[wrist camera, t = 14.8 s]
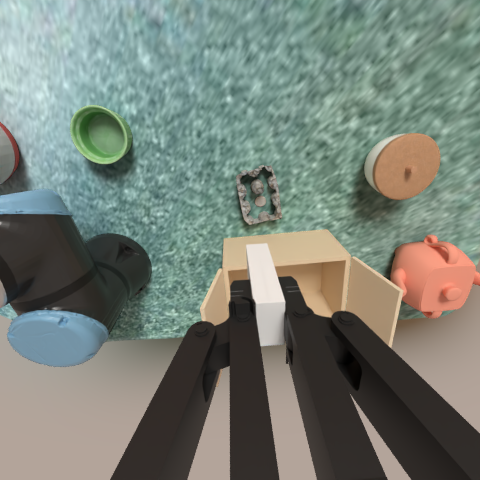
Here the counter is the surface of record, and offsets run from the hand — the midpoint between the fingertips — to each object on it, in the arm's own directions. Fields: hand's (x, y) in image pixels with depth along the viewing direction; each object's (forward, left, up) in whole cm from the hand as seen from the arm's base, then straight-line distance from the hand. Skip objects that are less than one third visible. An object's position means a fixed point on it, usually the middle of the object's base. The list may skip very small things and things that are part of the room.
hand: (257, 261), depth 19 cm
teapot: (+38, -23, -35) cm, 56 cm away
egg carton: (+3, -4, -35) cm, 35 cm away
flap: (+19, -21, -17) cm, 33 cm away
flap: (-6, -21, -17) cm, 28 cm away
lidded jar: (+28, 0, -35) cm, 44 cm away
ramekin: (-22, +9, -35) cm, 42 cm away
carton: (+7, -21, -34) cm, 41 cm away
